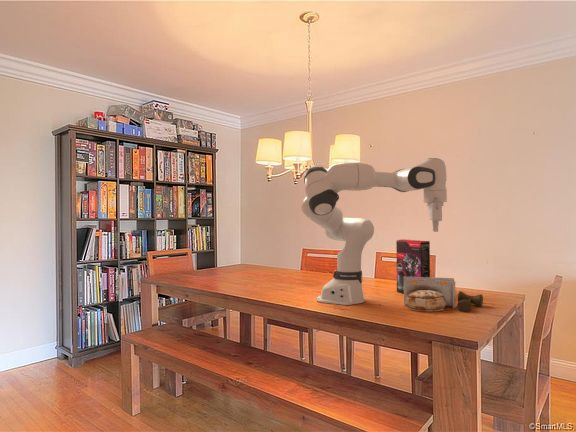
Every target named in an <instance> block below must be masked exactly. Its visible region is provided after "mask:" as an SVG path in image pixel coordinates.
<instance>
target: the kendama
mask: <svg viewBox="0 0 576 432" xmlns="http://www.w3.org/2000/svg"><path fill="white" fill-rule="evenodd" d="M483 304H484V296H483V294H482V293H481V294H476V295H470V294H469V295H468V294H466V293H465V292H463V291H462V290H460V291H458V293H457V303H456V307H457V309H458V311H460V312H462V313H469V312H470V311H471V308H472V306H473V305H475V306H476V307H477V308H482V307H483Z"/></svg>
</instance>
